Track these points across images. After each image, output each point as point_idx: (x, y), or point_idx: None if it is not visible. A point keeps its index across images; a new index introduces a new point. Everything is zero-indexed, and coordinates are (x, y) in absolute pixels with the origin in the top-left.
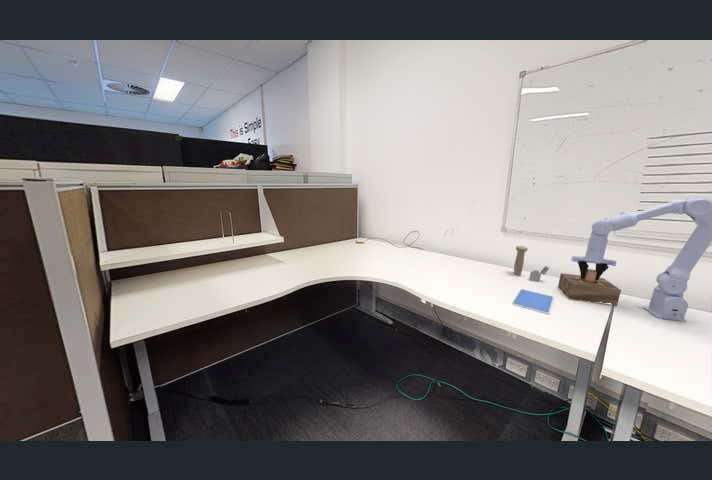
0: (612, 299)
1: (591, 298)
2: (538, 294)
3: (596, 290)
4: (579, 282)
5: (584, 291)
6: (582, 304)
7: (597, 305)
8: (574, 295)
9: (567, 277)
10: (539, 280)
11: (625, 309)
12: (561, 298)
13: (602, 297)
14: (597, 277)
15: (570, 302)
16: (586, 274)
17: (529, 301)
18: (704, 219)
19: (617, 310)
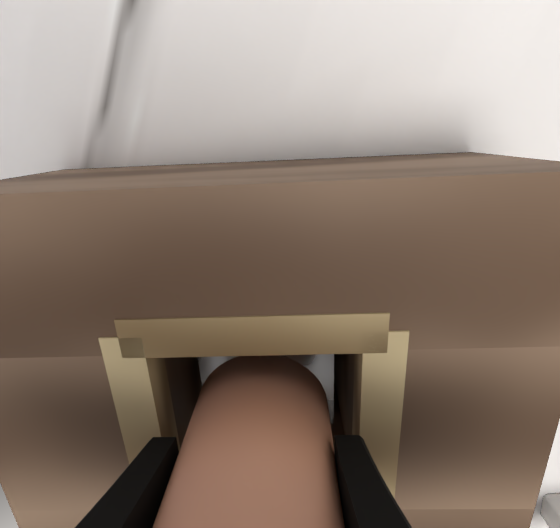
0: (75, 175)
1: (275, 164)
2: None
3: (231, 177)
4: (438, 310)
5: (372, 168)
6: (392, 31)
7: (240, 84)
8: (449, 155)
9: (514, 471)
10: (555, 505)
11: (7, 103)
12: (553, 125)
13: (169, 169)
14: (142, 482)
15: (507, 31)
16: (332, 523)
17: None
18: None
19: (83, 24)
